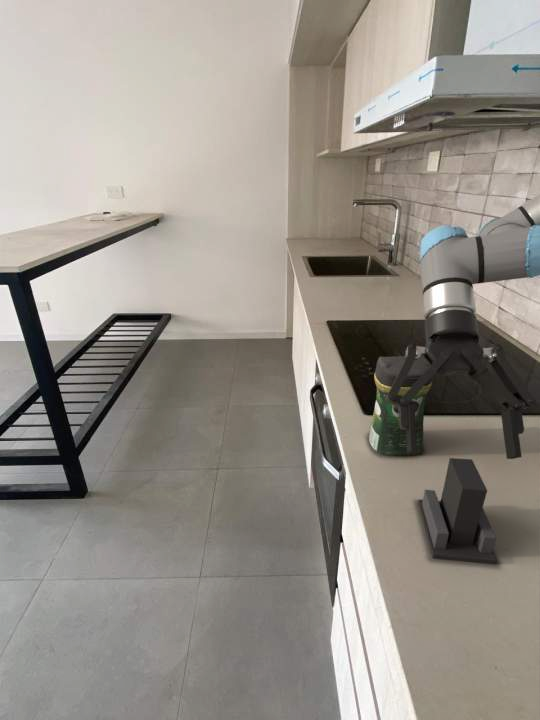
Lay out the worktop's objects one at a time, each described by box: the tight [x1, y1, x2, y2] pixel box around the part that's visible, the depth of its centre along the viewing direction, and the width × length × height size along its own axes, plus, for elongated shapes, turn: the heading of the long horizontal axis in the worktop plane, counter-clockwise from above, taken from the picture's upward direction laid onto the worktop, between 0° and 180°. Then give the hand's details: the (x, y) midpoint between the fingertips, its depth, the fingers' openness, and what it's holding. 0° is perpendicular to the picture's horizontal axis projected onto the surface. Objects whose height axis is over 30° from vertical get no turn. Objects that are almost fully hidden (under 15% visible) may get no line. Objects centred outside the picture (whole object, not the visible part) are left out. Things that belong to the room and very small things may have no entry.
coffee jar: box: [368, 355, 433, 457], centre depth 72 cm, size 10×8×19 cm
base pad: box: [417, 489, 497, 565], centre depth 57 cm, size 8×10×4 cm
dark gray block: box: [440, 457, 488, 546], centre depth 55 cm, size 3×6×10 cm, turn 172°
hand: (462, 455), depth 55 cm, fingers open, 13 cm apart
